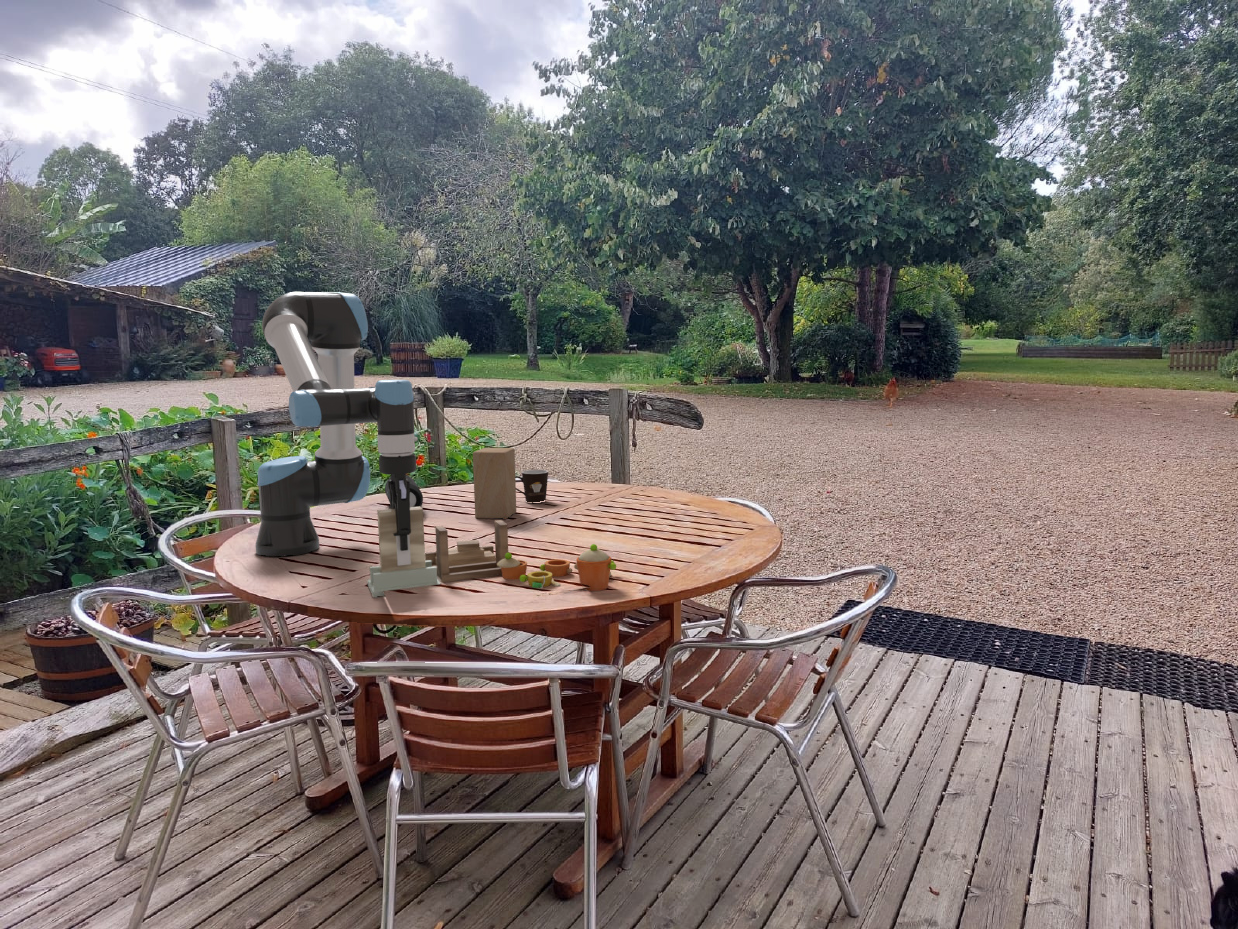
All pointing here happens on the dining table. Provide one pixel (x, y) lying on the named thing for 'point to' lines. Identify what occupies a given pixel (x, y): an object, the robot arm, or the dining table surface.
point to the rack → (468, 556)
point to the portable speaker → (415, 493)
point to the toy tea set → (563, 570)
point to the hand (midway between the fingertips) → (402, 562)
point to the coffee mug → (534, 485)
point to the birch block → (389, 540)
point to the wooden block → (494, 482)
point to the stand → (401, 579)
